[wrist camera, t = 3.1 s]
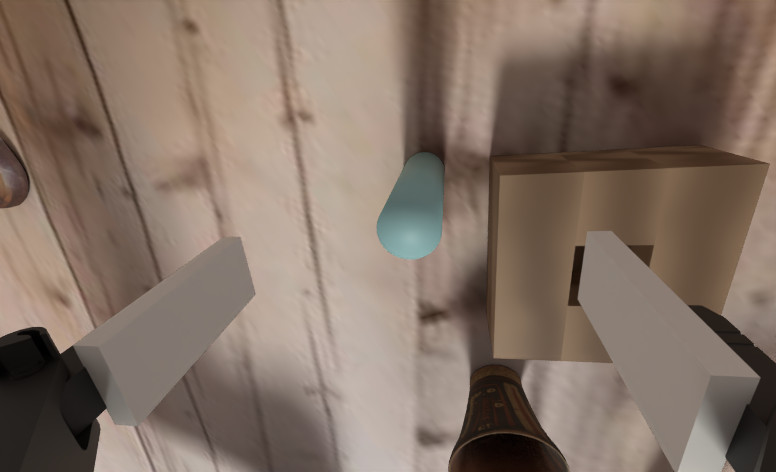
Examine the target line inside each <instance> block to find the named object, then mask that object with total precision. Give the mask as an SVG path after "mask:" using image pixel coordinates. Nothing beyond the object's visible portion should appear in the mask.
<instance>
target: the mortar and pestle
mask: <svg viewBox="0 0 776 472" xmlns="http://www.w3.org/2000/svg"><path fill="white" fill-rule="evenodd" d="M28 188H29V186H28V180H27V176H26V173H25V171H24V169H23V167H22V166H21V164H20V163H19V161H18V160H17V159H16V157H15V156H14V154H13V153H12V152H11V150H10V149H9V148H8V146H7V145H6V144H5V142H4V141H3V140H2V138H1V137H0V208H9V207H13V206H17V205H20V204H21V203H22V202H23V201H24V200H25V199H26V197H27V195H28Z"/></svg>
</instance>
